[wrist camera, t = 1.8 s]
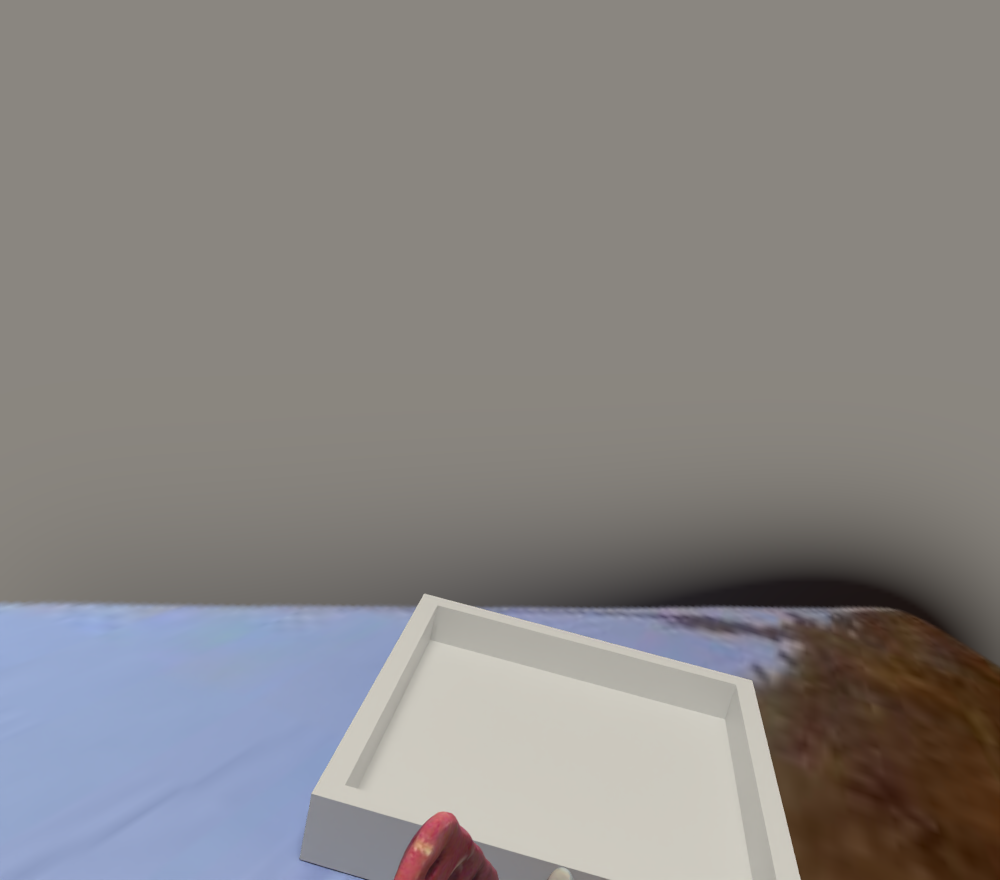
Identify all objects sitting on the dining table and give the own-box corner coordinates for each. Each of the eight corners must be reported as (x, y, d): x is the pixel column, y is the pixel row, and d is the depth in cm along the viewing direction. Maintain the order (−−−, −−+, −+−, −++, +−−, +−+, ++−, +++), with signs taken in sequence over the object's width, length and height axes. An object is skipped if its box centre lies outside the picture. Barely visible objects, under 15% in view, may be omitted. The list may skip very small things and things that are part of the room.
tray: (737, 727, 52) (752, 680, 51) (790, 1003, 34) (814, 938, 33) (414, 639, 54) (424, 593, 53) (299, 859, 35) (311, 793, 35)
